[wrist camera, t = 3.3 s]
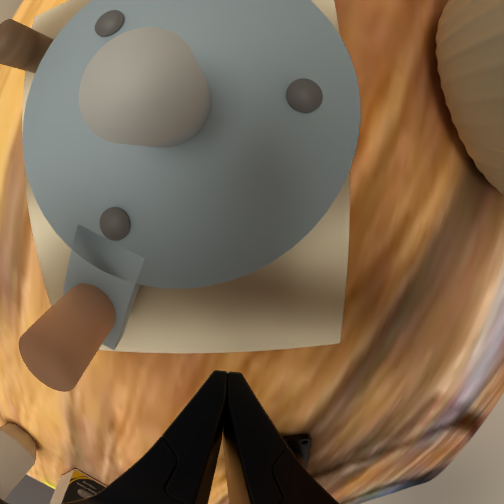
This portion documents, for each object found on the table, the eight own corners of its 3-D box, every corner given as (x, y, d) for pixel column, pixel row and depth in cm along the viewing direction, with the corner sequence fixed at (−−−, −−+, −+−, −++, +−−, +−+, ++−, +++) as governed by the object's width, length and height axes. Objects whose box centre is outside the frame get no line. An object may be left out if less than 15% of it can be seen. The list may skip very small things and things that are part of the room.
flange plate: (129, -42, 7) (91, -98, 2) (395, 58, 9) (469, 22, 4) (2, 262, 11) (-60, 301, 6) (218, 377, 13) (211, 461, 9)
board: (335, 333, 16) (363, 393, 11) (72, 338, 15) (35, 387, 11) (322, -25, 9) (349, -78, 5) (43, 22, 9) (-6, -3, 4)
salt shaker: (3, 410, 19) (-45, 487, 6) (43, 441, 20) (4, 525, 8) (4, 428, 20) (-35, 496, 8) (40, 455, 21) (7, 528, 9)
